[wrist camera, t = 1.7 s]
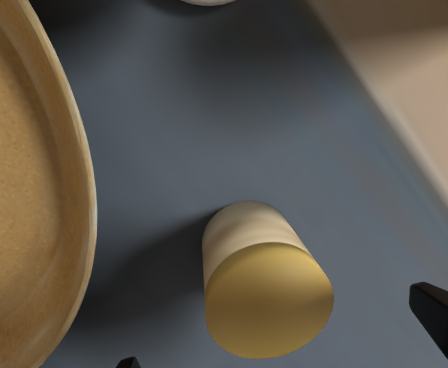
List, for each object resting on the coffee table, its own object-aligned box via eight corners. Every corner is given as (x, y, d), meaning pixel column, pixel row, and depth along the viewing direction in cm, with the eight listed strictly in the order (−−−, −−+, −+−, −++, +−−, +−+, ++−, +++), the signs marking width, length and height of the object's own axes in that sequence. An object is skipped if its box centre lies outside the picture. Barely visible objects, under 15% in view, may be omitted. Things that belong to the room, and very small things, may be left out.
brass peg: (293, 266, 14) (337, 340, 9) (213, 286, 13) (221, 371, 9) (283, 191, 12) (329, 241, 8) (191, 213, 12) (190, 275, 8)
